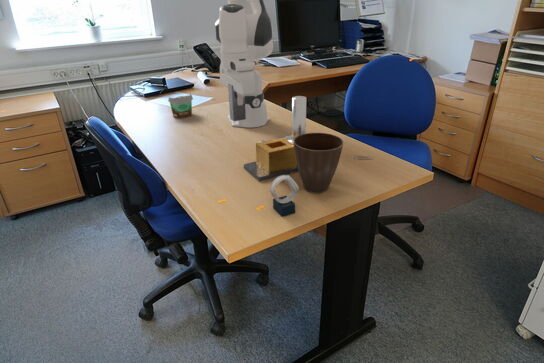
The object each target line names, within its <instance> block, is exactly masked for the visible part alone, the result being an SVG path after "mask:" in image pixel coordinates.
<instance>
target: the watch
mask: <svg viewBox="0 0 544 363" xmlns="http://www.w3.org/2000/svg"><path fill="white" fill-rule="evenodd" d="M282 181H285V183H286V184H287V185H288V186H289V188H290V189H291V192H290V193H289V195H283V196H280V197H278V196H277V193H276V188H277V186H278V184H280V183H282ZM299 189H300V188H299V185H298V184H297V183H296V181H295V180H294V179H293V178H292V177H291V176H290V175H289V174H286V175H281V176H278V177H275V178H273V181H272V182H271V184H270V188H269V192H270V194H271V196H272V197H273V199H272V208H273V210H274V211H275V212H276V213H277V214H278V215H279V216H280V217H281V218H284V217H287V216H291V215H294V214H296V203H295V202H294V201H293V200H294V199H295V198H296V197H297V194H298V192H299Z"/></svg>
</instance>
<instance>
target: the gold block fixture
mask: <svg viewBox="0 0 544 363" xmlns="http://www.w3.org/2000/svg"><path fill="white" fill-rule="evenodd" d="M306 125H307V97H306V96H302V95H295V96H292V98H291V134H290V135H286V136H284V137H279V138H274V139H270V140H263V139H262V140H259V142H256V143H255V150H256V151H255V155H256V159H255V160H256V161H251V162H248V163H244V164H243V170H245V171H246V172H248V173H249V174H250V175H251V176H252V177H253V178H255V179H256V181H258V182H263V181H266V180H270V179H275V178H277V177H278V176H281V175H286V176H287V175H289V174H293V173H297V172H298V173H299V170H298V166H297V161H296V156H295V149H294V139H295V138H296V137H297V136H299V135H302V134H306Z"/></svg>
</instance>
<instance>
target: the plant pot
mask: <svg viewBox="0 0 544 363" xmlns="http://www.w3.org/2000/svg"><path fill="white" fill-rule="evenodd" d="M343 146H344V140H343V139H342V138H341V137H339V136H337V135H334V134H331V133H326V132H325V133H324V132H307V133H306V134H302V135H299V136H297V137H296V138H295V139H294V149H295V156H296V161H297V166H298V170H299V171H298V173H299V176H300V179H301V183H302V185H303V187H304V189H305V190H306V191H307V192H308V193H313V194H318V193H319V194H321V193H325V192H326V191H327V190H328V189H329V187H330V185H331V182H332V180H333V178H334V176H335V173H336V170H337V169H338V168H337V167H338V165H339V162H340V159H341V155H342V151H343Z"/></svg>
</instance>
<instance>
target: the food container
mask: <svg viewBox="0 0 544 363" xmlns="http://www.w3.org/2000/svg"><path fill="white" fill-rule="evenodd" d="M193 99H194V98H193V95H192V94H191V93H189V95H181V96H180V95H179V96H177V97H168V99H167V102H168V103H169V105H170V107H171V108H170V109H171V113H172V117H173V118H175V119H185V118H190V117H191V116H192V114H193V111H192V110H193V109H192V108H193V106H192V105H193V104H192V103H193V102H192V100H193ZM189 116H190V117H189Z"/></svg>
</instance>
